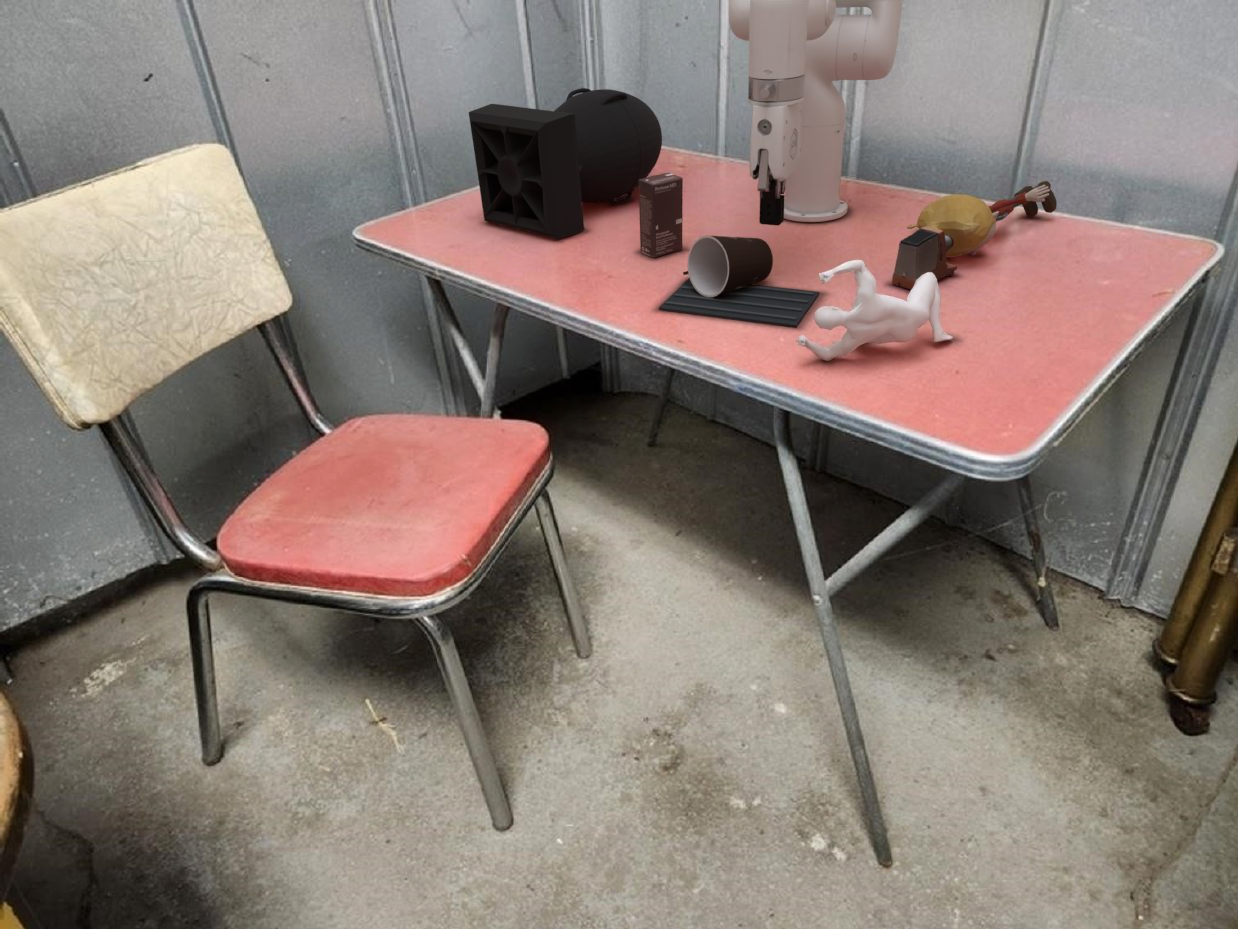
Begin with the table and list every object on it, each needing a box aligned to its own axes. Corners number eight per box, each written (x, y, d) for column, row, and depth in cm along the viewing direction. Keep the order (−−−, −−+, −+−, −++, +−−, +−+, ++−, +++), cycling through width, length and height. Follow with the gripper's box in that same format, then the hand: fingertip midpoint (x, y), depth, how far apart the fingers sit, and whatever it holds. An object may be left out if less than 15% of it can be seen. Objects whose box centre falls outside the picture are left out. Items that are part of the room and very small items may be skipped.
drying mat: (689, 279, 133) (689, 275, 133) (819, 294, 125) (819, 289, 125) (658, 309, 124) (658, 305, 124) (796, 327, 116) (796, 322, 116)
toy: (984, 236, 155) (885, 282, 139) (970, 181, 153) (868, 221, 137) (1114, 202, 137) (1017, 251, 121) (1100, 139, 135) (999, 181, 119)
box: (655, 259, 141) (652, 184, 135) (639, 252, 145) (636, 178, 138) (685, 250, 144) (683, 176, 138) (669, 243, 147) (667, 171, 141)
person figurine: (892, 237, 112) (823, 255, 99) (983, 278, 106) (922, 302, 93) (855, 328, 119) (786, 355, 106) (938, 371, 113) (876, 405, 100)
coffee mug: (783, 239, 125) (733, 245, 119) (772, 296, 129) (723, 305, 123) (727, 218, 132) (678, 223, 127) (719, 273, 137) (670, 280, 131)
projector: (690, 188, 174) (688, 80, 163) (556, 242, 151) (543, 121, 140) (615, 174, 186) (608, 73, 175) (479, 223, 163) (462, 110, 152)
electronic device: (957, 274, 128) (964, 224, 124) (915, 293, 123) (921, 241, 119) (932, 267, 131) (938, 218, 127) (890, 285, 127) (895, 234, 122)
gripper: (787, 101, 111) (781, 241, 121) (817, 79, 122) (810, 210, 132) (731, 99, 114) (730, 237, 124) (765, 79, 125) (762, 206, 135)
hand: (771, 222), depth 128 cm, fingers closed
